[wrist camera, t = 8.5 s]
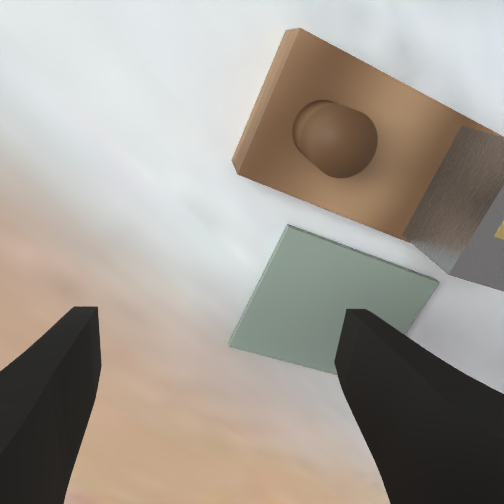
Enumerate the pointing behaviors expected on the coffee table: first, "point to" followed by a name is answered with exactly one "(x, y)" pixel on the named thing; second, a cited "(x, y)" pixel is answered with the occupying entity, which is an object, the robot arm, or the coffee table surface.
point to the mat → (323, 299)
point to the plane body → (345, 135)
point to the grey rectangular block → (465, 210)
